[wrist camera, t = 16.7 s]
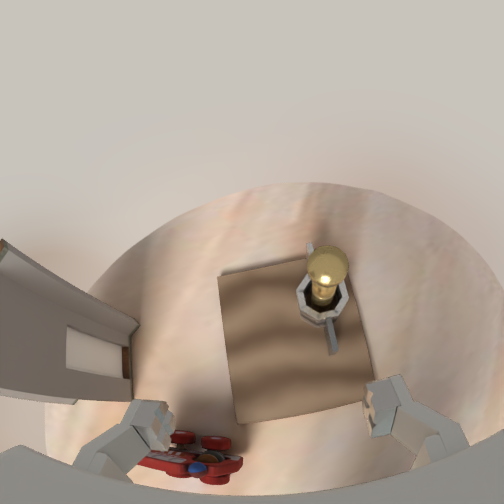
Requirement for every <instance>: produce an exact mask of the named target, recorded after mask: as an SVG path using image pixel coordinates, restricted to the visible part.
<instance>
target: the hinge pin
mask: <svg viewBox="0 0 504 504" xmlns="http://www.w3.org/2000/svg"><path fill="white" fill-rule="evenodd" d="M348 266H349V265H348V259H347V257H346V255H345V254H344V253H343V251H341V250H340V249H339V248H337V247H334V246H321V247H318V248H317V249H315V250H314V251H313V252H312V253H311V254H310V256H309V258H308V262H307V271H308V275H309V277H310V279H311V280H312V296H311V308H312V309H313V310H315V311H316V312H318V313H323V312H327V311H329V309H330V307H331V304H332V300H333V297H334V294H335V290H336V287H337V285H338V284H340V283H341V282H342V281H343V280H344V279H345V277H346V274H347V271H348Z"/></svg>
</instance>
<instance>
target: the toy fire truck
mask: <svg viewBox="0 0 504 504" xmlns="http://www.w3.org/2000/svg"><path fill="white" fill-rule="evenodd" d="M170 438H171V443H175V444H177V448H174V447H169V449H168V451H158V450H151V451H150V452H149V453H148V454H147V455H146V456H145V457H144V458H143V459H142V460H141V461H140V462H139V463H138V464H137V465H141V466H145V467H149V468H152V469H157V470H161V471H165V472H166V474H168V475H170V476H172V477H177V478H189V477H194V478H200V480H201V481H202V482H203V483H206V484H210V485H223V484H227V483H228V482H229V480H230V474H229V473H234V472H237V471H239V469H240V468H241V467H242V465H243V457H241V456H233V455H223V454H221V453H220V452H219V451H221V450H229V449H230V448H231V440H230V439H229V438H225V437H218V436H205V437H202V438H201V446H202V448H204V449H207V451H205V452H198V451H191V450H186V449H184V444H194V443H195V434H194V433H192V432H188V431H180V430H175V431H174V433H173V434H171V435H170Z"/></svg>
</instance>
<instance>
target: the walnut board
mask: <svg viewBox="0 0 504 504" xmlns="http://www.w3.org/2000/svg"><path fill="white" fill-rule="evenodd" d="M307 274H308V271H307V258H305V259H300V260H295V261H291V262H286V263H281V264H277V265H272V266H267V267H262V268H258V269H253V270H248V271H243V272H239V273H234V274H229V275H224V276H219V277H217V279H218V288H219V297H220V305H221V313H222V322H223V329H224V337H225V345H226V352H227V359H228V367H229V374H230V380H231V387H232V394H233V400H234V407H235V413H236V419H237V424H246V423H255V422H262V421H269V420H276V419H282V418H288V417H294V416H299V415H304V414H309V413H314V412H319V411H323V410H327V409H332V408H336V407H340V406H344V405H348V404H351V403H355V402H359V401H362V400H363V396H364V395H365V394H364V390H363V387H364V383H367V382H372V381H374V376H373V371H372V367H371V362H370V358H369V353H368V349H367V345H366V340H365V336H364V332H363V328H362V324H361V320H360V316H359V313H358V309H357V305H356V302H355V298H354V294H353V291H352V287H351V284H350V280H349V277H348V273H347V274H346V277H345V279H344V282H345V285H346V289H347V293H348V296H349V299H348V301H347V303H346V305H345V308H344V309H343V311H342V313H341V314H340V316H339V317H338V319H337V321H336V322H335V324H333V327H334V331H335V336H336V340H337V345H338V349H339V351H338V352H337V353H336V354H335V355H332V356H329V352H328V348H327V343H326V338H325V334H324V329H323V327H320V328H315V327H313V326H312V325H310V324H309V323H307V322H305V321H304V320H302V319H301V318H300V313H299V308H298V303H297V295H296V289H297V288H298V286H299V285H300V283H301V282H302V281H303V279H304V278H305V276H306V275H307ZM311 296H312V291H310V293H309V294H308V296H307V297H306V299H305V302H306V306H308V307H310V308H311ZM336 306H337V302H336V299H335V295H334V297H333V300H332V304H331V307H330V309H329V311H332V310H335V308H336ZM311 309H312V308H311Z"/></svg>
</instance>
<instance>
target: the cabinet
mask: <svg viewBox="0 0 504 504" xmlns="http://www.w3.org/2000/svg"><path fill="white" fill-rule="evenodd" d="M139 326H140V324H139V323H138V322H137V321H136V320H135V319H134V318H132V317H130V316H128V315H126V314H124V313H122V312H120V311H118V310H116V309H115V308H113V307H111V306H109V305H107V304H105V303H103V302H102V301H100V300H98V299H96V298H94V297H93V296H91V295H89V294H87V293H85V292H84V291H82V290H80V289H79V288H77V287H75V286H73V285H72V284H70V283H68V282H67V281H65V280H63V279H62V278H60V277H59V276H57V275H55V274H54V273H52V272H50V271H49V270H47V269H46V268H44V267H43V266H41V265H40V264H38V263H37V262H35V261H34V260H32V259H31V258H29V257H28V256H26V255H25V254H23V253H22V252H20V251H19V250H17V249H16V248H15V247H13V246H12V245H11V244H9V243H8V242H6V241H5V240H3V239H1V241H0V395H1V396H6V397H12V398H18V399H24V400H32V401H40V402H48V403H58V404H70V405H74V404H75V403H76V402H77V401H78V399H82V400H96V401H118V402H131V401H132V400H133V387H132V369H131V335H132V334H133V333H134V332H135V331H136V330H137V328H138V327H139Z"/></svg>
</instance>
